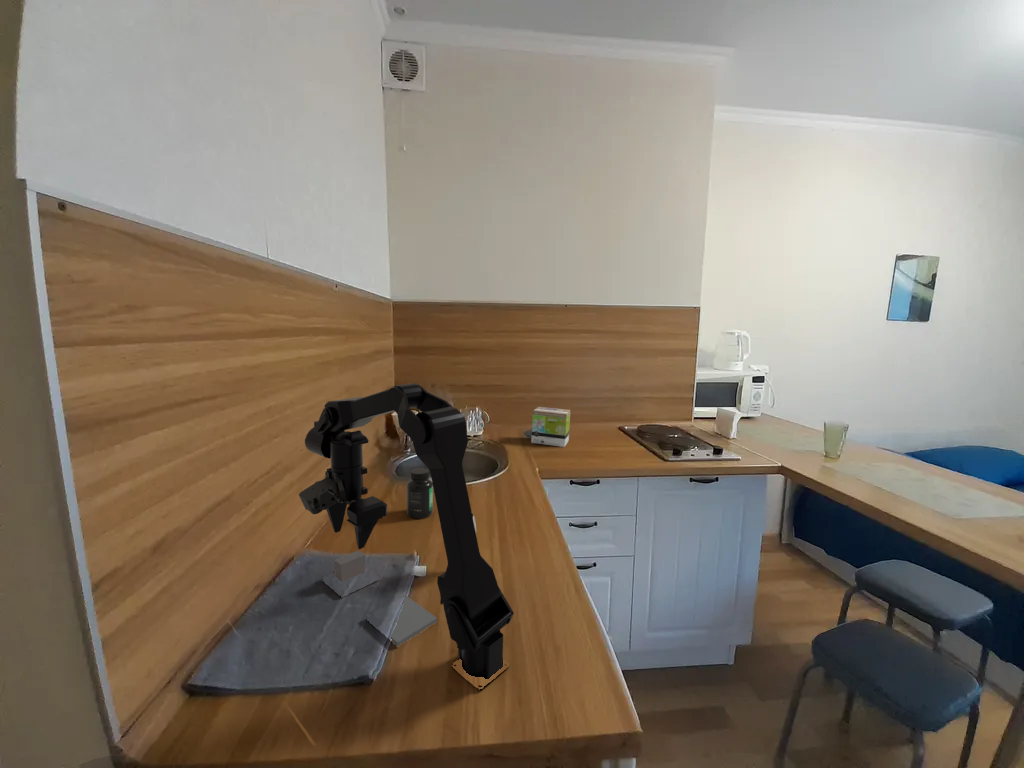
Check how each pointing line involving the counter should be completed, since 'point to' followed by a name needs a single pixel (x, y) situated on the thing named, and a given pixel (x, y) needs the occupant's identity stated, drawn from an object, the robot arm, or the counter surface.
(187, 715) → the counter surface
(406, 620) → the panel
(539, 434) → the tea box
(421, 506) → the supplement bottle
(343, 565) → the stub
